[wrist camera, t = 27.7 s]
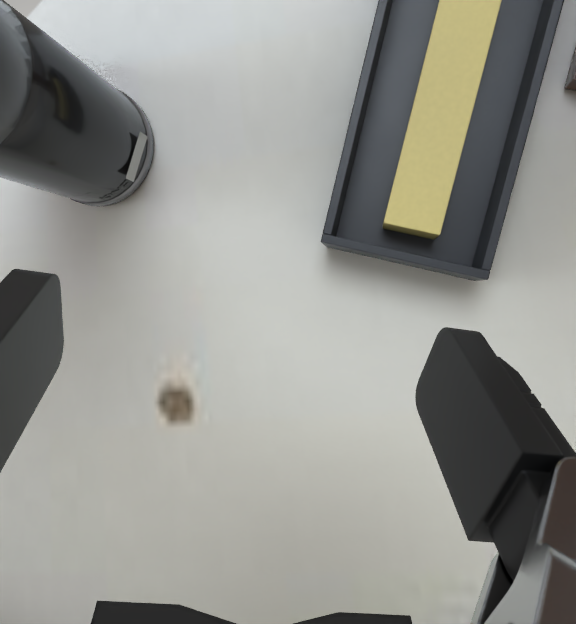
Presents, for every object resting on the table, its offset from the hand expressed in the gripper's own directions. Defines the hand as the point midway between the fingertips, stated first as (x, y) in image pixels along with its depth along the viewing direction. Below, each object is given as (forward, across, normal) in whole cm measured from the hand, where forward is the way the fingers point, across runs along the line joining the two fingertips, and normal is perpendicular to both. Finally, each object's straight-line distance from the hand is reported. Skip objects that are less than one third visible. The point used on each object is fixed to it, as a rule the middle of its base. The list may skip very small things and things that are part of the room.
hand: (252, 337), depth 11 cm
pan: (+29, -13, -3) cm, 32 cm away
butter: (+28, -13, -2) cm, 31 cm away
